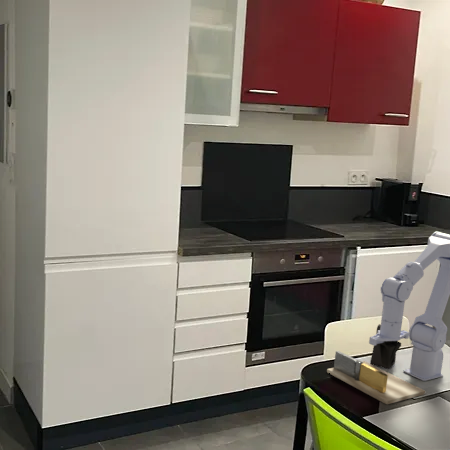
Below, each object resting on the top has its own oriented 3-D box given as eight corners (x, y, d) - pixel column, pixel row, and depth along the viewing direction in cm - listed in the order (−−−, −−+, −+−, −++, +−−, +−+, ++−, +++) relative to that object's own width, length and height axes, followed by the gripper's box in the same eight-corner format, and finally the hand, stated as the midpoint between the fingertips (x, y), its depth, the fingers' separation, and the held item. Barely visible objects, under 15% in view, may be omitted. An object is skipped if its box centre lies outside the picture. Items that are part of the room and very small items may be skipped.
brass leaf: (362, 379, 187) (364, 363, 187) (385, 392, 180) (387, 375, 179) (359, 380, 187) (361, 364, 186) (382, 392, 180) (384, 375, 179)
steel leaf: (337, 367, 196) (339, 350, 195) (361, 380, 188) (364, 362, 187) (333, 368, 195) (335, 351, 194) (357, 381, 187) (359, 363, 186)
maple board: (364, 364, 203) (364, 361, 203) (424, 394, 185) (425, 390, 184) (326, 372, 194) (327, 368, 194) (386, 404, 175) (387, 401, 175)
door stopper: (388, 369, 201) (393, 332, 199) (369, 364, 204) (374, 328, 202) (395, 360, 209) (400, 325, 207) (377, 356, 211) (381, 321, 209)
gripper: (397, 312, 191) (392, 356, 194) (363, 318, 183) (358, 363, 185) (417, 320, 186) (410, 364, 188) (382, 326, 177) (376, 373, 180)
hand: (385, 364), depth 186 cm, fingers closed
